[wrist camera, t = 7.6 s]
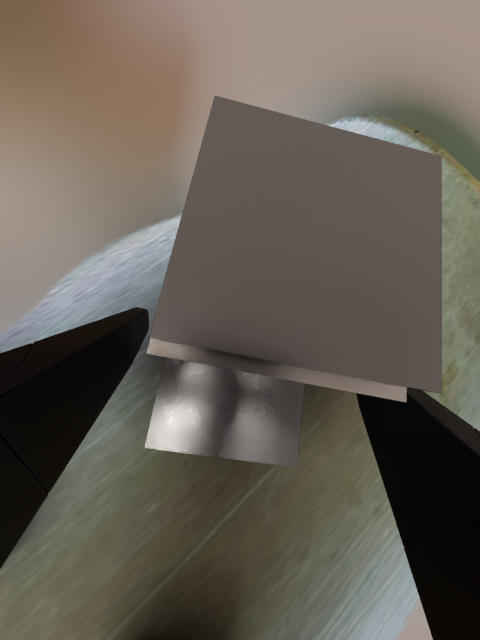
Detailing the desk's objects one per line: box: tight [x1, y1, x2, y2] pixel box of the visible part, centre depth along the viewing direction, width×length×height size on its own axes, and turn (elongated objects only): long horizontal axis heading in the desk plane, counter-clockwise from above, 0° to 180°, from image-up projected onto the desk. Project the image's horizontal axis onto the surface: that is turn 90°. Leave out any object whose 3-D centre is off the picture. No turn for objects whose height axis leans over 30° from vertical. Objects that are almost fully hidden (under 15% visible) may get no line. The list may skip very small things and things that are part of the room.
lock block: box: [147, 96, 442, 402], centre depth 10 cm, size 6×6×13 cm
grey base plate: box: [145, 357, 306, 467], centre depth 16 cm, size 16×11×4 cm
